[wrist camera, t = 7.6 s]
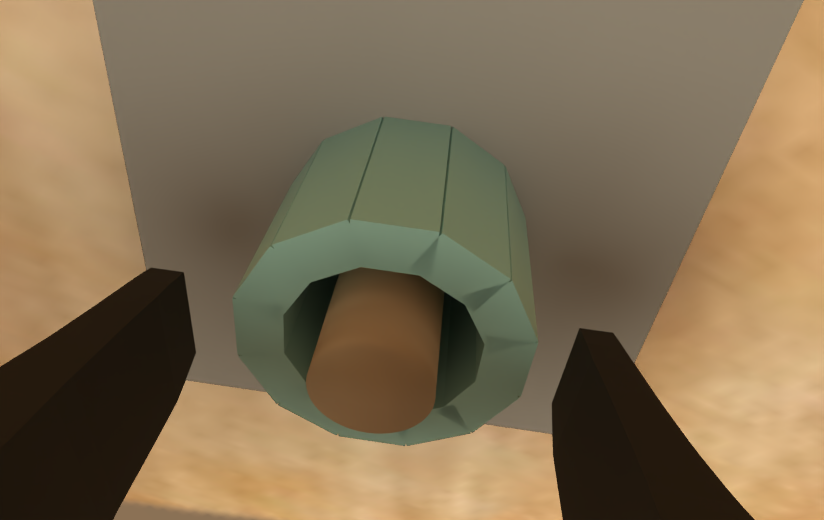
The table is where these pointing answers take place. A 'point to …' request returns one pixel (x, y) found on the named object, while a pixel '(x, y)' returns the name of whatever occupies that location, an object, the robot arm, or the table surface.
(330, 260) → the green ring
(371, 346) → the beech post
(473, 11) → the grey board
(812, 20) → the table surface
